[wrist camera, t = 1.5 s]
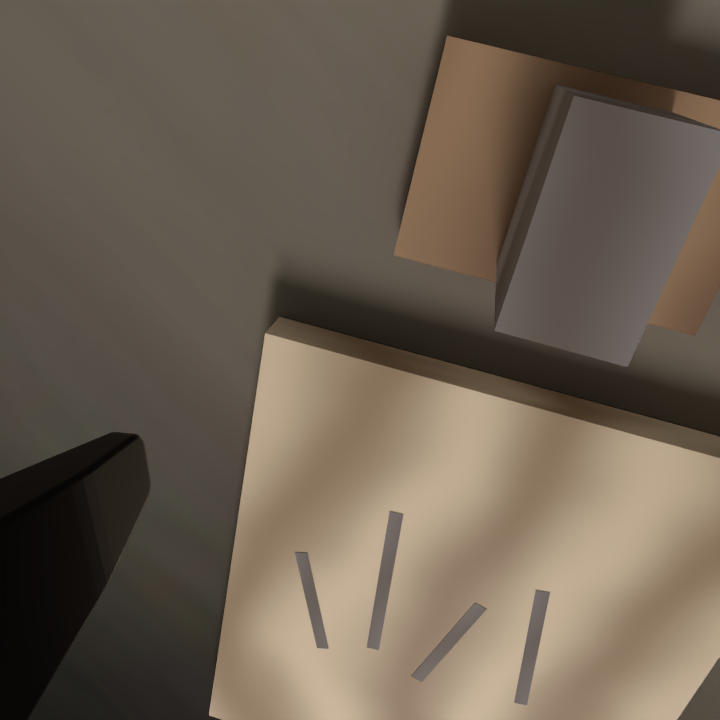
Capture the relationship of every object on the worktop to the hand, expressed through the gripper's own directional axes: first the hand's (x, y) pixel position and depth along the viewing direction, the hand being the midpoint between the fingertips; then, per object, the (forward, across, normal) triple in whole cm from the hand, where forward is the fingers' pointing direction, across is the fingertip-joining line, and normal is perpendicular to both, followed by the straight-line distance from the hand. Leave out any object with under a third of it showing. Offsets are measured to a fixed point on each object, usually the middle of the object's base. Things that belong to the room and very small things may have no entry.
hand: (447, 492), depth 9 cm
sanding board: (+12, 0, +14) cm, 19 cm away
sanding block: (+13, -3, -2) cm, 13 cm away
